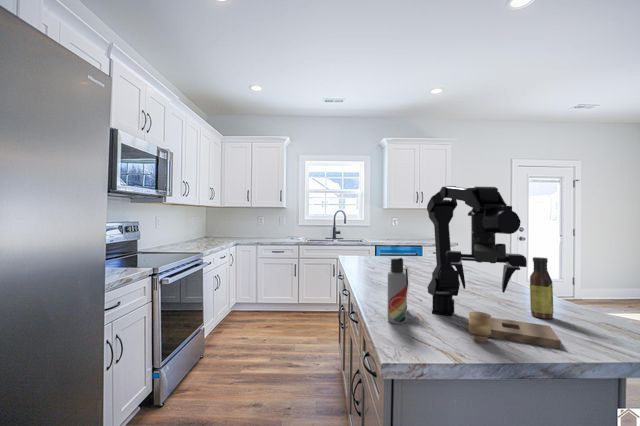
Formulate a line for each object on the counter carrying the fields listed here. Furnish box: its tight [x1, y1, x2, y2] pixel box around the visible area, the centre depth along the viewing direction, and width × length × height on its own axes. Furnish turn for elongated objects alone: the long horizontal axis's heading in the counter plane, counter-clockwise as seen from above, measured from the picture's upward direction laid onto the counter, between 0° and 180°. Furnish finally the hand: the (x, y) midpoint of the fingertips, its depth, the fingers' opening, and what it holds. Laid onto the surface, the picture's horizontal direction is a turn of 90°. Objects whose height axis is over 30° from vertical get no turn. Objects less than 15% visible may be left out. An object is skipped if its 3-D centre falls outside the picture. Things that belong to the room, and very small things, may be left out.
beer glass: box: [389, 266, 411, 312], centre depth 106 cm, size 7×7×15 cm
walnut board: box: [489, 317, 562, 349], centre depth 84 cm, size 20×12×2 cm, turn 63°
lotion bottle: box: [387, 257, 407, 325], centre depth 93 cm, size 6×6×20 cm
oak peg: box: [468, 311, 492, 343], centre depth 79 cm, size 5×5×7 cm
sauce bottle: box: [529, 256, 554, 320], centre depth 100 cm, size 7×6×20 cm
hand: (483, 290), depth 80 cm, fingers open, 9 cm apart
